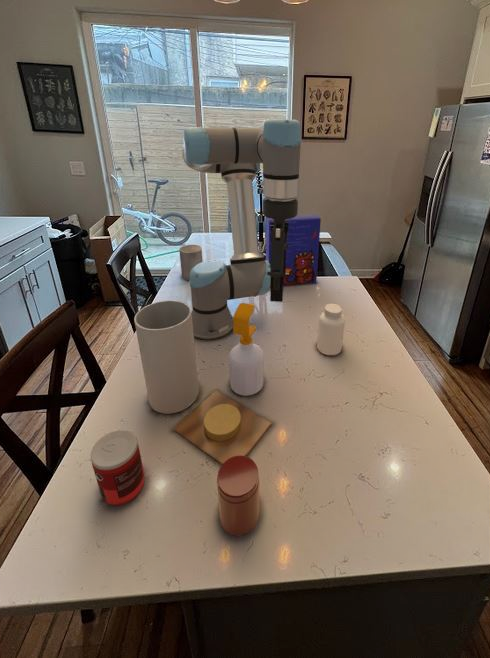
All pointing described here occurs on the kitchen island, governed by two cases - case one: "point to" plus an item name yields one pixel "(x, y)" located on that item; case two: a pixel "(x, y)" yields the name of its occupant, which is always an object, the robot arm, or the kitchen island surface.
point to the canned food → (118, 467)
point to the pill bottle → (331, 330)
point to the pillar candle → (189, 259)
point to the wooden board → (229, 448)
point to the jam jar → (238, 495)
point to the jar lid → (222, 422)
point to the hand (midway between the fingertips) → (278, 286)
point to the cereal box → (299, 249)
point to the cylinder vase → (168, 355)
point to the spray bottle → (245, 355)
